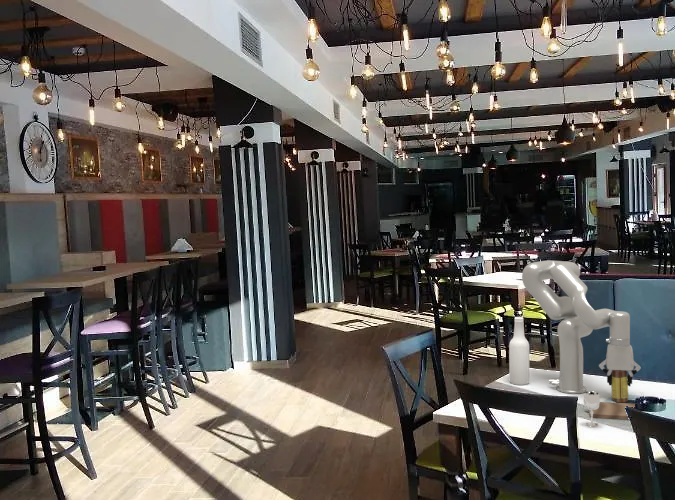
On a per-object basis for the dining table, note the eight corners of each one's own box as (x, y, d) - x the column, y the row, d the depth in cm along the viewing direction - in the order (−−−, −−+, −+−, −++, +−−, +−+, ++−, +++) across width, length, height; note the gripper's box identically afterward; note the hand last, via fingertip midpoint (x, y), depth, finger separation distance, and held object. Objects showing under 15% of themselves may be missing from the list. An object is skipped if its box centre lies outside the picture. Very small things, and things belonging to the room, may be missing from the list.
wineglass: (580, 422, 248) (580, 391, 247) (595, 421, 249) (595, 390, 248) (587, 427, 243) (587, 395, 242) (603, 427, 243) (603, 394, 242)
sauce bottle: (627, 398, 274) (627, 351, 273) (628, 403, 268) (629, 355, 267) (610, 397, 276) (610, 350, 275) (611, 402, 271) (611, 354, 269)
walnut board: (590, 417, 253) (590, 413, 253) (587, 404, 269) (587, 401, 268) (647, 421, 248) (647, 417, 247) (641, 407, 263) (641, 404, 263)
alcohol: (509, 385, 299) (509, 319, 296) (509, 379, 307) (508, 315, 305) (530, 385, 297) (529, 319, 294) (528, 380, 305) (528, 315, 303)
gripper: (597, 343, 269) (597, 386, 271) (644, 344, 264) (644, 388, 266) (596, 339, 277) (596, 381, 278) (641, 340, 272) (641, 383, 273)
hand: (619, 384), depth 272 cm, fingers open, 6 cm apart
